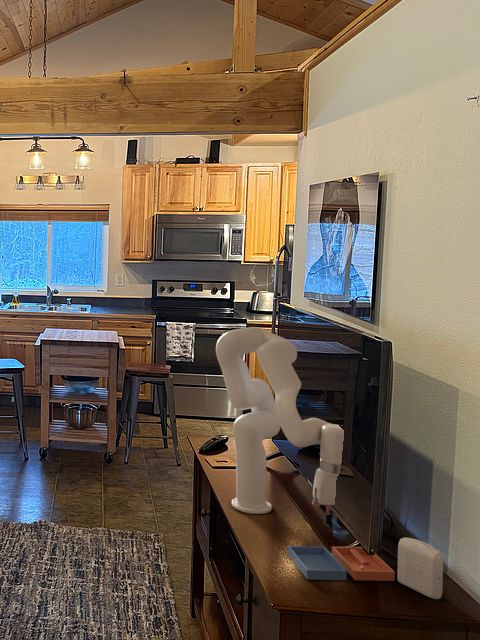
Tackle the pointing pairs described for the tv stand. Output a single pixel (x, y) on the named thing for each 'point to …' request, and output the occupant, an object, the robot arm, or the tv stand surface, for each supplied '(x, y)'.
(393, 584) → the tv stand surface
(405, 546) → the photo printer
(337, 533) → the blue spoon
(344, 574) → the blue tray
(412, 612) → the tv stand surface
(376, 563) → the terracotta tray
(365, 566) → the terracotta spoon
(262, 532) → the tv stand surface
